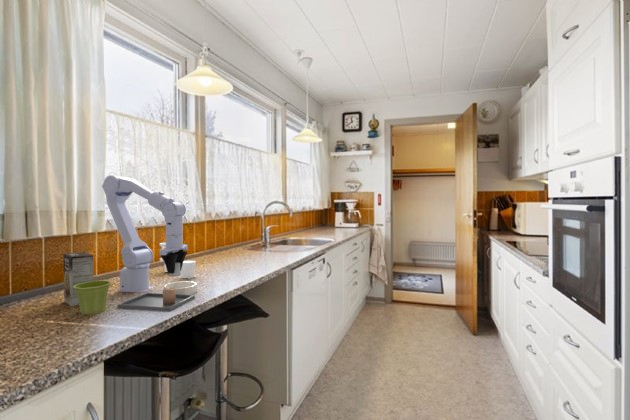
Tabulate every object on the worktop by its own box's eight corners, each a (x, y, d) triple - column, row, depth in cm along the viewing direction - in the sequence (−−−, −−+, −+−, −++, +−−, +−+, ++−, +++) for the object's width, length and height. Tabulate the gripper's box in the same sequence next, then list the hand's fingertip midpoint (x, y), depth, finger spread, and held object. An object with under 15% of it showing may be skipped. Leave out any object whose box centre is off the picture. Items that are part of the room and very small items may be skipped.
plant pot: (83, 320, 95) (82, 289, 95) (68, 314, 100) (67, 285, 100) (117, 311, 103) (117, 282, 103) (101, 305, 108) (101, 279, 108)
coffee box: (63, 301, 112) (62, 253, 112) (85, 297, 117) (85, 251, 116) (71, 307, 106) (70, 256, 106) (94, 303, 111) (93, 254, 110)
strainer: (179, 271, 161) (179, 240, 161) (167, 274, 155) (166, 241, 155) (168, 270, 164) (168, 239, 164) (156, 272, 158) (156, 241, 158)
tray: (117, 309, 104) (117, 304, 104) (147, 296, 118) (147, 292, 118) (170, 312, 101) (170, 307, 101) (194, 299, 115) (194, 295, 115)
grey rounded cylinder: (166, 276, 121) (166, 263, 121) (172, 274, 125) (172, 261, 125) (176, 276, 121) (176, 264, 120) (182, 274, 124) (182, 262, 124)
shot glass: (190, 279, 145) (190, 263, 145) (176, 278, 147) (176, 262, 146) (199, 275, 152) (198, 260, 152) (185, 275, 153) (185, 259, 153)
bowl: (157, 296, 118) (157, 287, 118) (175, 288, 129) (175, 280, 129) (186, 298, 116) (186, 289, 116) (202, 290, 127) (202, 281, 127)
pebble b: (160, 304, 107) (160, 290, 107) (167, 301, 111) (167, 287, 111) (171, 305, 107) (171, 291, 107) (177, 301, 111) (177, 288, 110)
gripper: (172, 237, 115) (172, 276, 115) (194, 233, 129) (195, 268, 129) (153, 236, 116) (154, 275, 116) (178, 232, 130) (178, 267, 130)
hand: (174, 272), depth 123 cm, fingers closed on grey rounded cylinder, 4 cm apart
